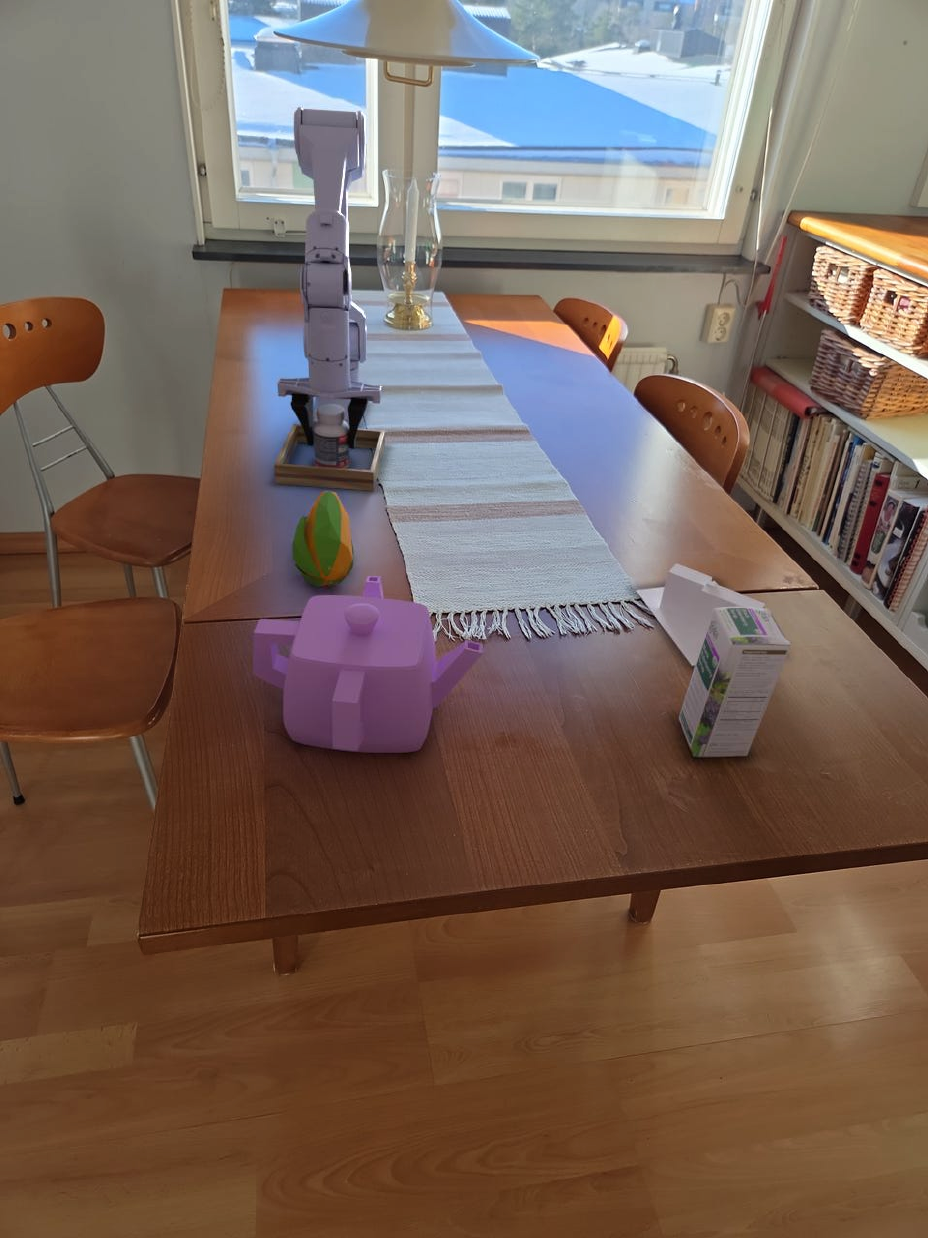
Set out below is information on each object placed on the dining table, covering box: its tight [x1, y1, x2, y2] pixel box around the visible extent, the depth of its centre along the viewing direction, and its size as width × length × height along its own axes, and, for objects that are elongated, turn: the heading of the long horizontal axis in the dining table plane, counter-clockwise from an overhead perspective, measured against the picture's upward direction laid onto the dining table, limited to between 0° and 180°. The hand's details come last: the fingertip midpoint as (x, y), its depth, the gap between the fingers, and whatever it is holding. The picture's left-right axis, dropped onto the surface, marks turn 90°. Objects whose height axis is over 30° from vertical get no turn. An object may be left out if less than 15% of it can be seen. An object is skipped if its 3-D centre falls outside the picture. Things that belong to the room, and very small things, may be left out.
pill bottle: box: [313, 404, 351, 469], centre depth 124 cm, size 5×5×9 cm
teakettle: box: [252, 574, 484, 754], centre depth 82 cm, size 17×17×12 cm
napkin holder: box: [635, 562, 767, 667], centre depth 99 cm, size 15×11×6 cm
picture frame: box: [273, 423, 386, 492], centre depth 126 cm, size 14×14×3 cm
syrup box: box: [678, 607, 792, 758], centre depth 81 cm, size 6×6×14 cm
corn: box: [292, 490, 354, 588], centre depth 105 cm, size 7×8×20 cm
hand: (331, 444), depth 125 cm, fingers open, 5 cm apart
